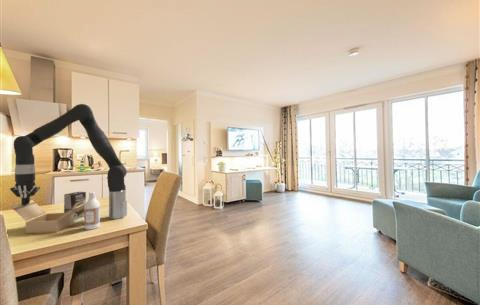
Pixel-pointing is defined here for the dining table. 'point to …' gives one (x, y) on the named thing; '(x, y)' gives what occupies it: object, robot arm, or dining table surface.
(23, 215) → the flap
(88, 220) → the bath foam
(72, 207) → the coffee box
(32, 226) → the carton
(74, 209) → the flap
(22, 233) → the dining table surface
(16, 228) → the dining table surface
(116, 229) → the dining table surface
